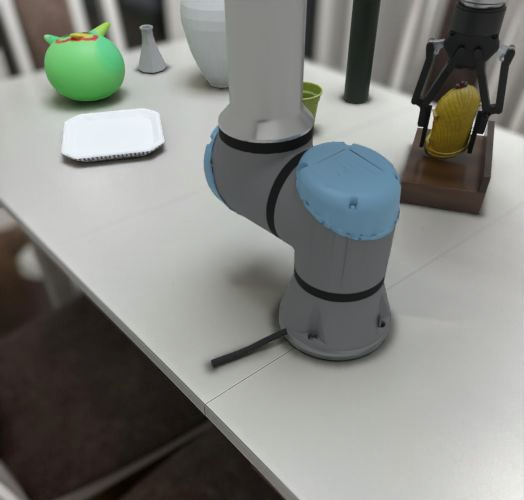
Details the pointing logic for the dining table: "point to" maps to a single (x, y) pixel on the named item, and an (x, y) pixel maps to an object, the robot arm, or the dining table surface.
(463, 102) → the yellow curved piece
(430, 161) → the brown boxy piece
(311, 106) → the plant pot
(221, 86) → the vase
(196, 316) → the dining table surface
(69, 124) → the plate
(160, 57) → the flask
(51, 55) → the toy bird
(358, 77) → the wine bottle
